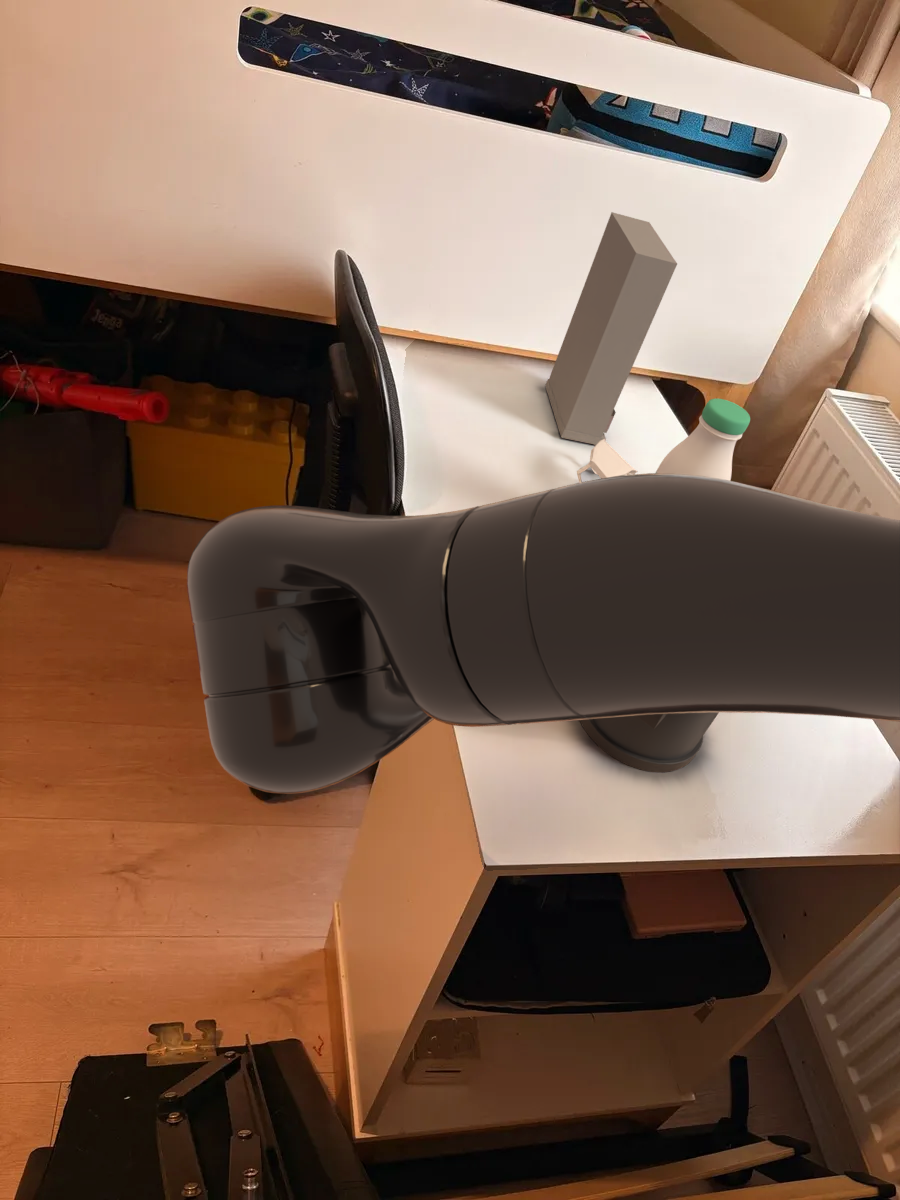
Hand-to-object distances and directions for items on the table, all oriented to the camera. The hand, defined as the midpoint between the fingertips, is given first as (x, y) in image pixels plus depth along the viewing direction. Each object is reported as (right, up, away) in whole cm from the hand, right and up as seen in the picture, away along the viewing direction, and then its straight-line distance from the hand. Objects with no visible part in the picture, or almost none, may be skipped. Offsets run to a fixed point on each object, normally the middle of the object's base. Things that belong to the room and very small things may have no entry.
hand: (714, 578), depth 58 cm
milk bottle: (+5, +3, +43) cm, 44 cm away
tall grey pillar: (0, +24, +65) cm, 70 cm away
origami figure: (+1, +12, +52) cm, 54 cm away
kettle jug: (-1, -12, +23) cm, 26 cm away
